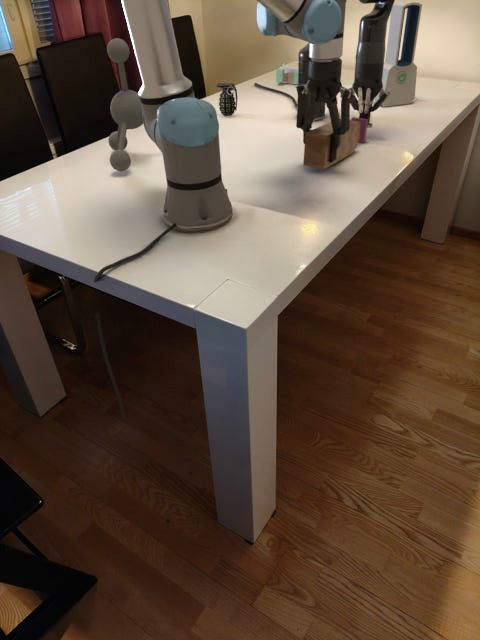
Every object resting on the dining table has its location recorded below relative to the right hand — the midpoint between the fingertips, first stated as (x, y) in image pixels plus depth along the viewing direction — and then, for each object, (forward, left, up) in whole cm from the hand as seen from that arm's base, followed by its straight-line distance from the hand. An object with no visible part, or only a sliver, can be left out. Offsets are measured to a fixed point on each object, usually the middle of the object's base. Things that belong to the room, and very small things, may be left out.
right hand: (363, 125), depth 142 cm
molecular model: (+7, -64, -4) cm, 64 cm away
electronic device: (-36, +18, -4) cm, 40 cm away
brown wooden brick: (+18, -12, -3) cm, 22 cm away
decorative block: (-79, -9, -4) cm, 79 cm away
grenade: (-31, -40, -4) cm, 51 cm away
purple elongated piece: (+8, -5, -3) cm, 10 cm away
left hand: (+22, -15, -1) cm, 27 cm away
